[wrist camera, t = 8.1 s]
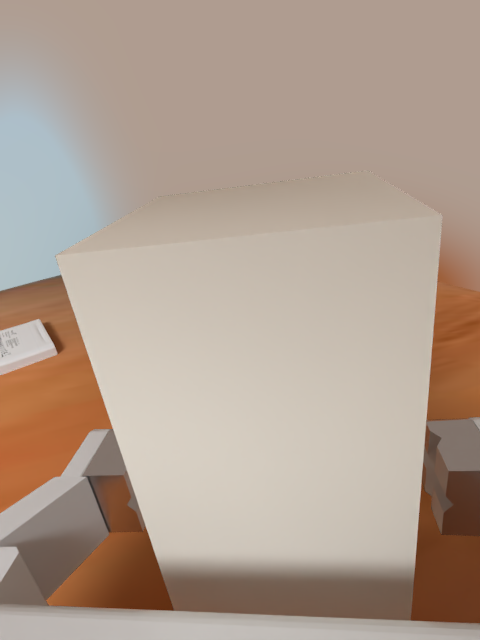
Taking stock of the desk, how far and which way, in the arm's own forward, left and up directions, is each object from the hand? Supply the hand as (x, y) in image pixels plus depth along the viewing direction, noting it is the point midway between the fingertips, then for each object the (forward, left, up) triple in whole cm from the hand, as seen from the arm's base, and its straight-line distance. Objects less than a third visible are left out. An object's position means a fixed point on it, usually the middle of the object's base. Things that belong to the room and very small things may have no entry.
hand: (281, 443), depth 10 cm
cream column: (+1, -1, -8) cm, 8 cm away
